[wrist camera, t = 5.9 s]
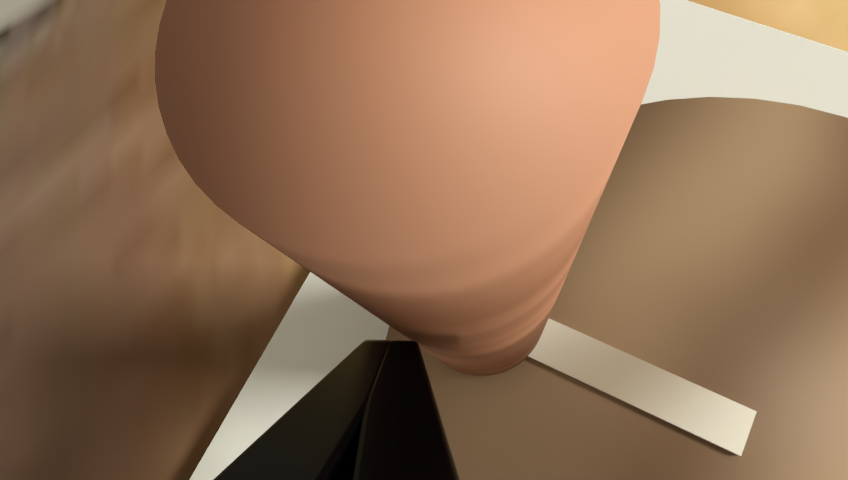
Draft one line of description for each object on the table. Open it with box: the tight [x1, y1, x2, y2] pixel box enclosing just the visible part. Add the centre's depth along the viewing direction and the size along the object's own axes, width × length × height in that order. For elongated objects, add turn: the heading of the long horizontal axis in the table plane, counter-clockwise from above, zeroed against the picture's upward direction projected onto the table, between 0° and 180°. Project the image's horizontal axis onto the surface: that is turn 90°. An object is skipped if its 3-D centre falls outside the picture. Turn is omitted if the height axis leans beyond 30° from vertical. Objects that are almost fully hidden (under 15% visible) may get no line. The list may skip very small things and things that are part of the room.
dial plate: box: [189, 0, 848, 480], centre depth 14 cm, size 22×22×1 cm
